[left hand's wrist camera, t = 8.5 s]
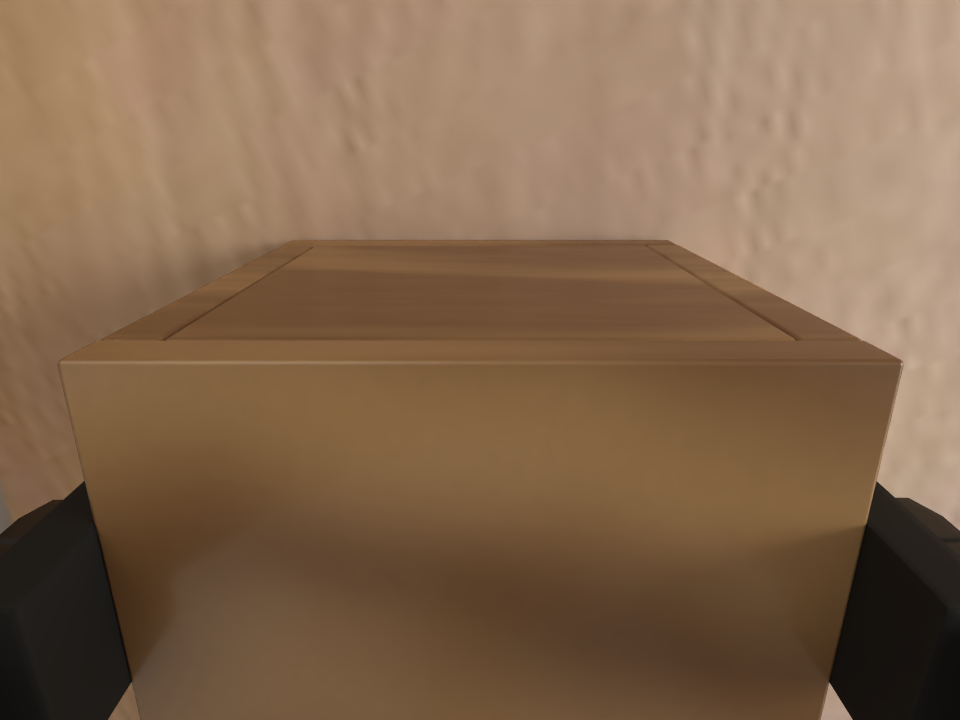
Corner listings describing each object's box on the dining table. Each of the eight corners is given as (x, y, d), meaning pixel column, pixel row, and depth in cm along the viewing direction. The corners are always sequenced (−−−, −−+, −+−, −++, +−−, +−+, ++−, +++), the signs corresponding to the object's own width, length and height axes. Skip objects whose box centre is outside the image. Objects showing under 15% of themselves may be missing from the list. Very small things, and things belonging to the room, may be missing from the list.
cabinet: (619, 757, 23) (714, 1179, 14) (341, 757, 23) (246, 1178, 14) (670, 239, 17) (907, 360, 8) (290, 239, 17) (52, 360, 8)
